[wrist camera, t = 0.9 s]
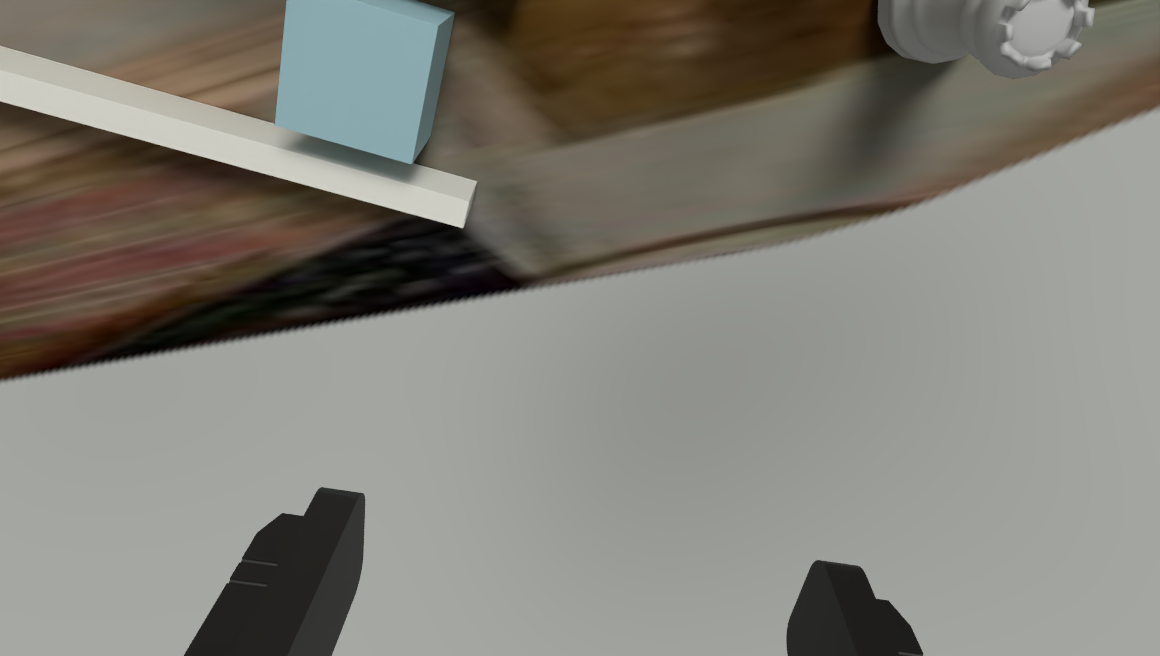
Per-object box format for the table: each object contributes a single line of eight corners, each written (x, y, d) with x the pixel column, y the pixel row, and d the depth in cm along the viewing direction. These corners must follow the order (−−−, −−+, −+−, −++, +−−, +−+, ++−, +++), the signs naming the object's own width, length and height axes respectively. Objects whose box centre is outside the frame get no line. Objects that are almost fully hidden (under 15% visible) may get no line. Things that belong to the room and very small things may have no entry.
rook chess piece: (912, 83, 30) (1014, 136, 23) (849, -4, 28) (938, 23, 21) (1014, -1, 28) (1157, 28, 21) (954, -98, 26) (1087, -102, 20)
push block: (310, 100, 30) (274, 125, 27) (325, -30, 28) (288, -21, 24) (430, 135, 31) (411, 164, 27) (455, 12, 28) (438, 26, 25)
